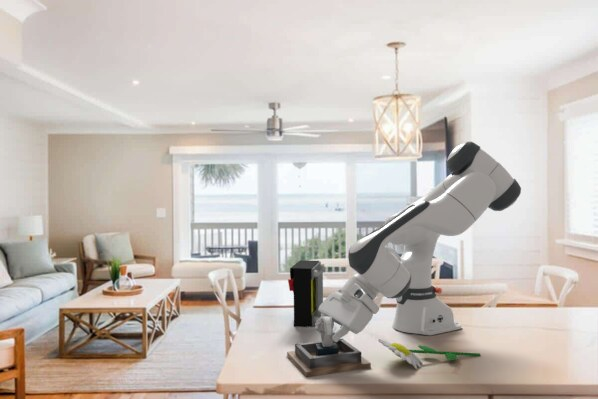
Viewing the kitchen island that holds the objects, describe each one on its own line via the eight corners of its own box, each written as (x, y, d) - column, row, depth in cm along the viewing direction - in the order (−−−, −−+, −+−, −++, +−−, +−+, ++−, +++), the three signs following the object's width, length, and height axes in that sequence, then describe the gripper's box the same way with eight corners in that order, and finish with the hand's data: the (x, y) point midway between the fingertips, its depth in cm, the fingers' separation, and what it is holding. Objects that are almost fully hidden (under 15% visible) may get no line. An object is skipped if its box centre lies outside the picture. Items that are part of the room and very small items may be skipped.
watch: (334, 351, 137) (333, 312, 136) (339, 362, 129) (339, 320, 128) (314, 352, 136) (314, 313, 136) (318, 363, 128) (318, 321, 128)
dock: (345, 348, 143) (345, 336, 143) (370, 367, 128) (370, 353, 128) (287, 356, 137) (286, 343, 137) (306, 376, 122) (305, 362, 122)
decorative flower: (465, 356, 142) (369, 350, 136) (468, 339, 142) (371, 333, 135) (491, 374, 130) (386, 370, 123) (494, 357, 129) (389, 351, 123)
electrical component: (318, 327, 165) (317, 268, 164) (288, 326, 167) (287, 268, 166) (325, 314, 182) (325, 260, 181) (298, 313, 184) (298, 260, 183)
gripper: (332, 281, 144) (302, 318, 141) (368, 295, 125) (334, 338, 122) (345, 295, 146) (316, 331, 143) (383, 311, 127) (350, 353, 124)
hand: (325, 335), depth 132 cm, fingers closed on watch, 8 cm apart
